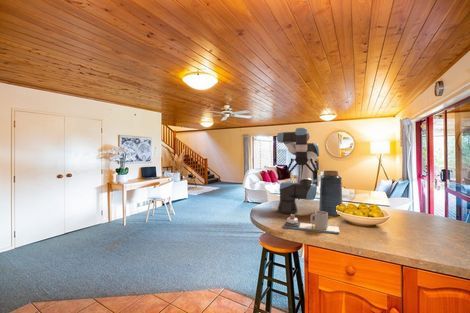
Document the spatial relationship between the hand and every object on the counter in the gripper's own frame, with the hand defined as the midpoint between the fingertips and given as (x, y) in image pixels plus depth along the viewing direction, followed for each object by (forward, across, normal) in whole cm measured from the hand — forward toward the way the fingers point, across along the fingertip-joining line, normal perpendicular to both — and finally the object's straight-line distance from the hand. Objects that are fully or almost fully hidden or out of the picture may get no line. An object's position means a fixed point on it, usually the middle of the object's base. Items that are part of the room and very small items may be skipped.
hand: (301, 182), depth 148 cm
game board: (+25, +5, -14) cm, 29 cm away
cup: (+24, +10, -14) cm, 30 cm away
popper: (+22, -5, -14) cm, 27 cm away
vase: (+27, +20, +24) cm, 41 cm away
